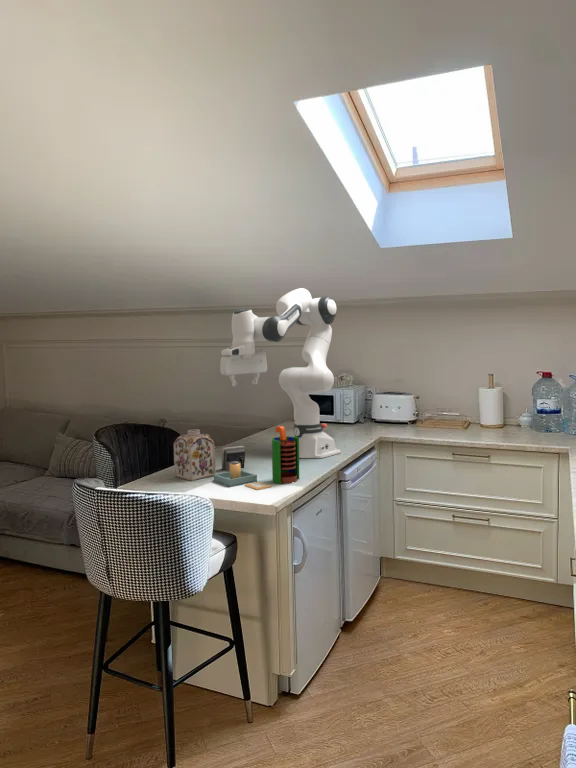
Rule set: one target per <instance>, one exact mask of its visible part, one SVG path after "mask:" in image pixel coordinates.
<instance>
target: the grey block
mask: <svg viewBox="0 0 576 768" xmlns="http://www.w3.org/2000/svg"><path fill="white" fill-rule="evenodd" d="M232 462H233V461H232ZM230 463H231V462H226V466H227V470H226V472H230ZM239 463H240V467H241V462H239Z"/></svg>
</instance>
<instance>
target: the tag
mask: <svg viewBox="0 0 576 768" xmlns="http://www.w3.org/2000/svg"><path fill="white" fill-rule="evenodd" d="M244 486H245V487H247V488H250V489H253V490H256V491H259V490H264V489H269V488H272V486H271V485H270V484H267V483H264V482H260V481H257V482H252V483H247V484H244Z"/></svg>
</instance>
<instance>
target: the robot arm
mask: <svg viewBox="0 0 576 768" xmlns="http://www.w3.org/2000/svg"><path fill="white" fill-rule="evenodd" d="M275 305H276V306H275V310H276V313H277V315H275V316H274V315H273V316H263V317H262V316H261V317H259V316H258V315H256V314H254V313H253V310H252V309H251V308H241V309H237V310H234V311H233V312H232V315H231V333H232V342H231V344H232V345H231V346H230V347H227V348H225V349H222V350H221V351H220V354H221V357H220V364H219V365H220V367H219V369H220V371H219V372H220V374H221V375H222V376H228V377H229V380H230V381H231V385H232V387H238V386H239V385H238V384H239V383H238V381H236V379H235V378H236V375H246V374H247V375H248V374H253V376H254V378H253V379H252V380H251V384H252V385H258V380H259V378H260V375H261V373H267V372H268V363H267V354H266V352H265V351H264V350H263V349H256V348H255V347H256V346H255V344H256V343H255V342H277V343H278V342H280V341H282V340H283V339H284V338H285V336H286V334H287V332H289V330H290V328H291V327H292V326H294V325H295V323H296V324H297V325H299V326H307V325H309V326H310V328H309V332H308V334H307V336H306V339H305V342H304V345H303V347H302V351H301V357H302V359H303V361H305V362H306V363H307V364H308V365H307V366H304V367H302V366H301V367H297V366H293V367H288V368H284V369H283V370H281V372H280V373H279V376H278V384H279V386H280V387H281V389H282V390H283V391H284V392H286V394H287V395H288V396H289V398H290V401H291V402H292V406H293V413H294V423H293V435H294V437H298V438H299V459H323V458H326V457H327V458H328V457H331V456H334V455H339V454H341V453H342V452H341V449H339V448H337V447H336V442H335V438H333V437H331V436H330V435H329V434H328V433H327V432H325V431H324V429H327V428H328V425H327V423H320V419H321V418H320V416H321V415H320V406H319V404H318V403H317V402H316V401H314V400H312V399H311V396H310V395H309V393H317V394H318V393H319V394H320V393H324V392H330V390H331V389H332V388H333V387H334V384H335V377H334V374H333V372H332V371H331V370H330V368H328V366H327V357H328V353H329V349H330V346H331V342H332V335H333V328H332V327H331V324H332V323H334V320H335V317H336V315H337V313H338V306H337V305H338V304H337V303H336V300H335V299H334V298H332V296H322V297H316V298H315V297H314V298H313V297H312V295H311V293H310V291H309V290H308V289H306V288H303V287H299V288H296V289H293V290H291V291H289V292H287V293H286V294H284V295H282V296H281V297H280V298H279V299H278V300H277V302H276V304H275ZM323 428H324V429H323Z"/></svg>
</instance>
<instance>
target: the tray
mask: <svg viewBox="0 0 576 768" xmlns="http://www.w3.org/2000/svg"><path fill="white" fill-rule="evenodd" d="M213 482H216V483H217V482H218V483H217V484H221V485H223V486H226V487H229V488H231V487H237V486H242V485H246V484H251V483H256V482H258V474H255V473H254V472H253V473H252V472H249V471H246V470H242V469H241V477H240V478H235V479H230V472H227V471H225V472H220V473H216V474H214V476H213Z"/></svg>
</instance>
